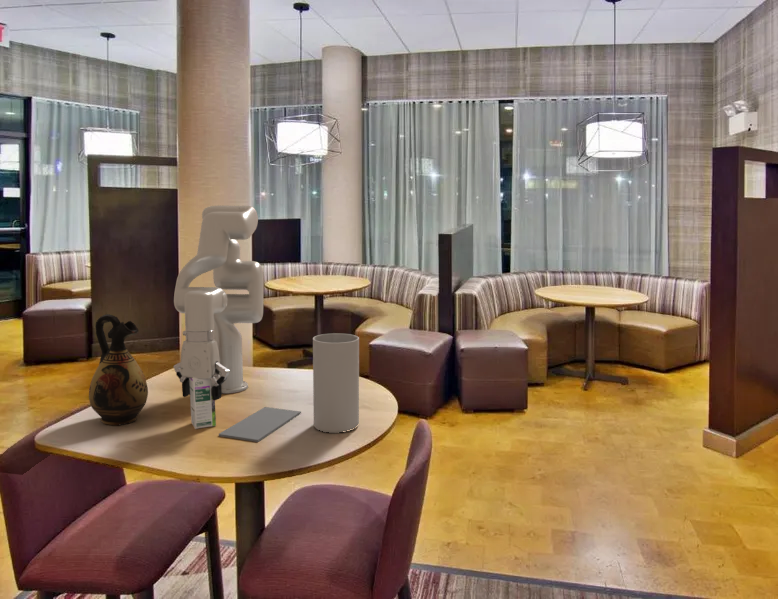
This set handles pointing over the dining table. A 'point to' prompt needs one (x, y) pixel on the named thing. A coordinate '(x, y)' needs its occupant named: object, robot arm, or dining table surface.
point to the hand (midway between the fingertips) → (201, 397)
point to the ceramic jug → (117, 376)
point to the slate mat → (260, 424)
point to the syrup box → (202, 403)
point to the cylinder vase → (336, 382)
